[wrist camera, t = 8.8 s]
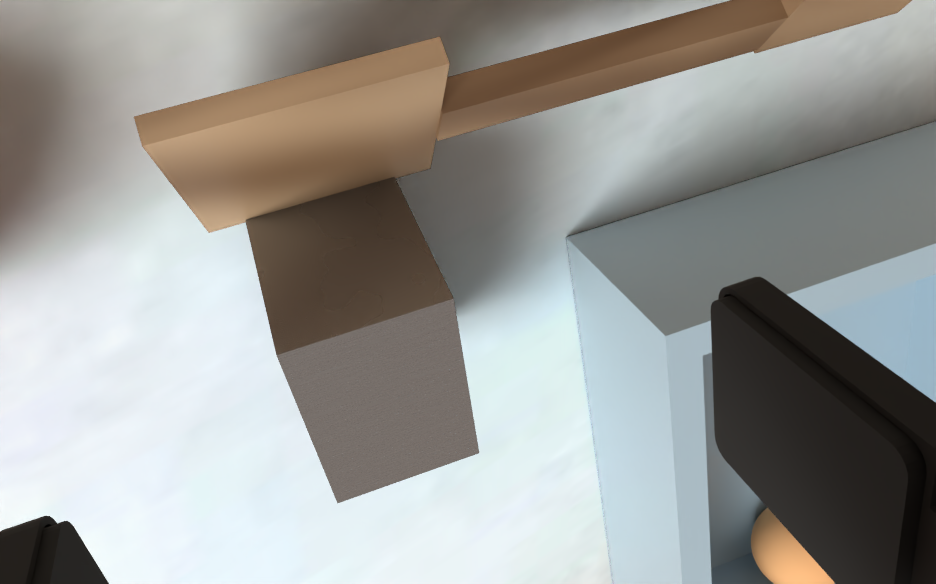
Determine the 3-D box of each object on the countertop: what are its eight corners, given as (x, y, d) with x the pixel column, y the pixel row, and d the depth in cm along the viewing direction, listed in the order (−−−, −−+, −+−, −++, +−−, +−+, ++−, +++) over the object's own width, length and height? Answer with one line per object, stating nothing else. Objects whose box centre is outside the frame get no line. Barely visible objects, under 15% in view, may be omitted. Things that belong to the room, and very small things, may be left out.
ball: (799, 615, 30) (755, 599, 33) (883, 580, 30) (831, 568, 34) (762, 520, 30) (723, 514, 34) (844, 487, 31) (797, 485, 34)
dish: (566, 237, 26) (665, 336, 20) (940, 119, 28) (1118, 180, 22) (615, 605, 35) (692, 739, 29) (894, 493, 37) (1012, 599, 32)
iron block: (276, 355, 17) (337, 502, 21) (453, 298, 18) (479, 453, 22) (245, 219, 21) (303, 369, 25) (394, 176, 21) (426, 329, 26)
